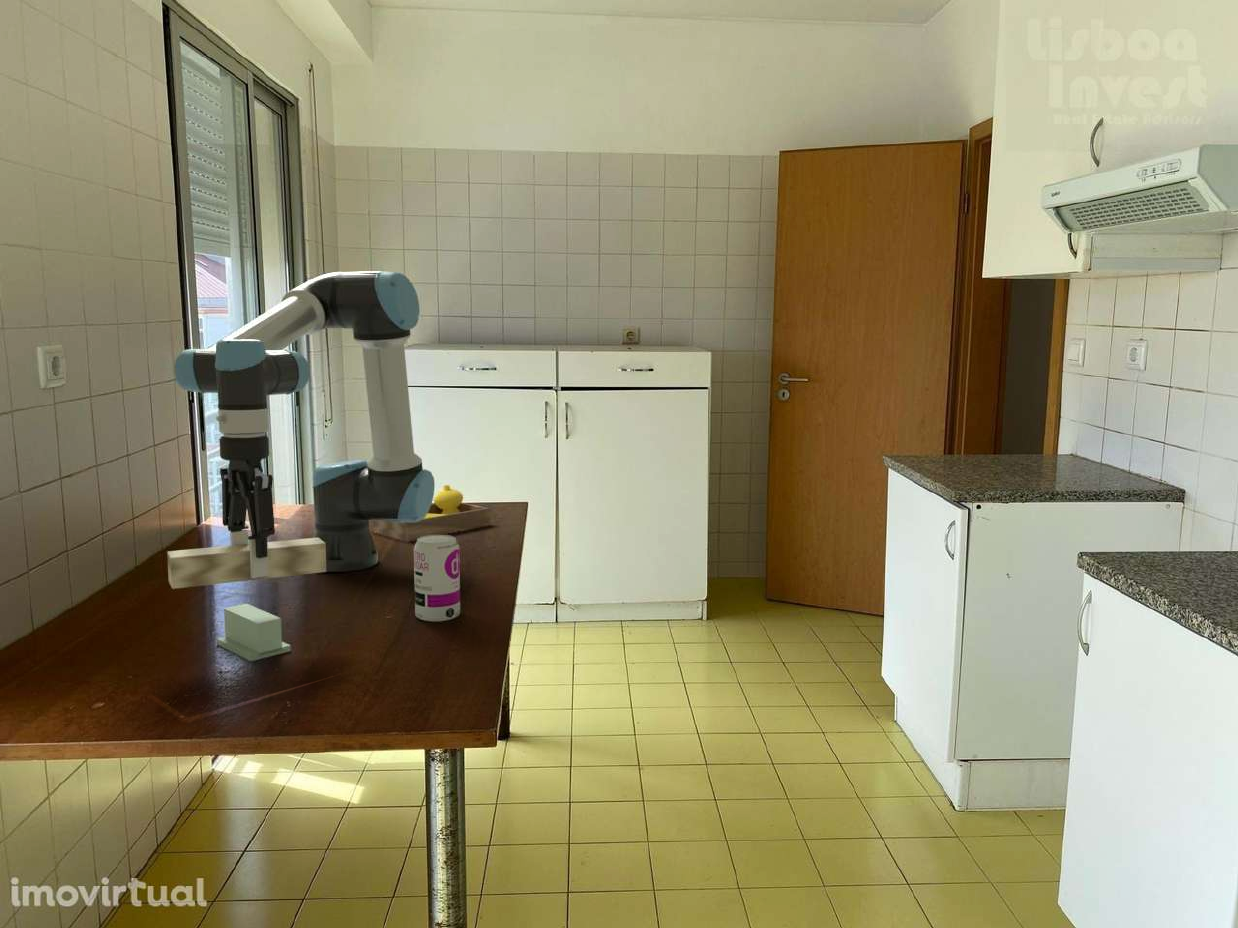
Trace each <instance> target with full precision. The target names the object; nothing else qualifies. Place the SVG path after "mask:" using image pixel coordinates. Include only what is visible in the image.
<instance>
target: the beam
mask: <svg viewBox="0 0 1238 928" xmlns="http://www.w3.org/2000/svg"><path fill="white" fill-rule="evenodd" d="M267 546H268V569H269V575H268V576H263V577H258V578H251V568H250V546H249V543H248V544H243V545H232V546H231V545H223V546H214V547H212V546H211V547H201V548H191V549H179V550H178V549H177V550H171V551H169V550H168V551H167V552H166V555H167V571H168V572H167V573H168V575H167V576H168V583H169V585H170V587H171V589H172V590H174V589H184V588H192V587H200V586H211V585H212V586H213V585H218V584H226V583H227V584H229V583H237V582H247V581H254V580H255V581H256V580H263V579H265V580H266V579H271V578H273V579H274V578H275V579H276V578H281V577H282V578H283V577H291V576H293V577H294V576H299V575H310V574H318V573H326V543H325V542H324V541H322V540H321V539H320V538H313V537H308V538H299V539H290V540H288V539H287V540H278V541H275V540H274V541H267Z"/></svg>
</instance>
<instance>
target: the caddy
mask: <svg viewBox="0 0 1238 928" xmlns="http://www.w3.org/2000/svg"><path fill="white" fill-rule="evenodd" d="M457 508H458V509H459V510H460V511H461V512H459V513H453V514H447V515H442V516H436V517H430V518H424V519H422V520H420V521H418V522H404V523H399V522H389V521H374V520H370V533H371V532H374V533H373V534H375V533H378V534H377V535H379V534H381V535H380V536H382V535H384V536H383V537H386V536H387V538H390V537H391V539H393V538H395V539H394V540H397V539H399V540H398V541H401V542H404V541H405V543H410V542H411V541H412V542H415V541H416V542H417V539H418V538H420V537H422V536H428V535H444V534H445V535H449V534H448V533H450V534H454V533H453V532H455V533H458V532H457V531H460V532H464V531H470V530H472V529H473V530H474V529H478V528H483V527H488V526H490V520H491V519H490V508H489V507H485V506H481V505H474V504H470V503H466V502H465V503H464V502H461V504H460V505H459V506H458V507H457ZM442 511H443V509H440V508H439V507H438V506H436V504H435V503H434V502H433V503H432V504H431V506H430V509H429V511H428V513H427V514H441V513H442Z"/></svg>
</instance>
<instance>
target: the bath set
mask: <svg viewBox="0 0 1238 928" xmlns="http://www.w3.org/2000/svg"><path fill="white" fill-rule="evenodd" d="M442 487H443V489H442V490H440V491H438V493H437V494H436V495H435V496H433V504H434V503H435V504H436V506H438V507H439V508H440V509H443V511H442V513H441V514H426V516H425V517H424V518H430V517H436V516H442V515H447V514H453V513H459V512H461V511H460V510H459V509H458V508H457V507H458V506H459V505H460V504H461V503H463V499H464V495H463V493H462V492H461V491H459V490H457V489H454V488H451V486H450V484H446V485H443V486H442ZM424 518H423V519H424Z"/></svg>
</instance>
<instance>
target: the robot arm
mask: <svg viewBox="0 0 1238 928" xmlns="http://www.w3.org/2000/svg"><path fill="white" fill-rule="evenodd" d="M419 315H420V302H419V298H418V293H417V291H416V289H415V287H414V284H413V283H412V281H411V280H410V279H409V278H408V276H406V275H405V274H403V273H401V272H397V271H396V272H394V271H386V270H381V271H380V270H378V271H335V272H329V273H326V274H322V275H319V276H317V277H315V278H313V279H309V280H307V281H305V282H304V283H302V284H300V285H298V286H296V287H294V288H292V289H290V290H289V291H287V292H286V293H285V294H284V296H283V297H282V298H281V302H280V303H278V304H277V305H275V306H273V307H272V308H270V309H269V310H267V311H266V312H264V313H262V314H260V315H259V316H257V317H256V318H254V319H252V320H250V321H249V322H247V323H246V324H245V325H243V326H240V328H238V329H236V330H235V331H233V332H232V333H229V334H228V335H227V336H225V337H223V338H221V339H220V340H218V341H217V342H215V343H213V344H211V345H210V346H208V347H206V348H202V349H201V348H193V349H191V348H190V349H184V350H183V351H181V352H180V353H179V354H178V355H177V357H176V358H175V360H174V365H173V373H174V376H175V381H176V383H177V385H179V387H180V388H181V389H183V390H185V391H188V392H195V393H201V394H217V402H218V403H217V412H218V415H217V416H216V421H217V422H218V431H219V433H220V434H223V435H222V436H220V438H219V439H218V440H219V457H220V459H222V460H224V461H228V462H229V463H228V467H221V468H220V470H219V474H220V479H221V503H222V508H221V510H222V511H221V512H222V513H221V514H222V526H223V527H227V530H228V531H229V532H230V533H229V534H230V536H229V537H230V538H229V539H230V546H232V545H243V544H249V546H250V568H251V578H258V577H263V576H268V575H269V569H268V546H267V542H268V538H269V537H270V536H274V535H275V533H276V528H275V527H276V526H275V518H274V517H275V515H274V514H275V513H274V503H273V481H274V479H273V478H274V477H273V475H272V474H264V468H263V465H262V460H265V459H267V458H269V456H270V439H269V436H268V435H267V434H266V433H267V432H269V411H268V402H267V401H268V396H274V395H287V396H288V395H291V394H293V393H297V392H300V391H301V390H303V389H304V388H305V387H306V386H307V385H308V382H309V381H310V376H311V375H310V373H311V370H310V365H309V362H308V361H307V358H306V357H304V355H303V354H301V353H300V352H298V351H296V350H295V351H294V350H289V349H286V348H287V347H289V346H290V345H292V344H293V343H295V342H296V341H298V340H299V339H301V338H302V337H304V335H306V336H309V335H311V336H312V335H315V334H316V333H318V332H320V331H322V330H326V329H327V330H328V329H352V333H353V340H354V341H355V342H356V343H357V344H359V345H360V346H361V349H362V356H363V365H364V366H363V367H364V376H365V384H366V385H365V386H366V395H367V406H368V415H369V425H370V434H371V443H372V444H371V445H372V452H373V453H372V454H373V456H372V458H371V459H370V460H369V461H368V462H367V459H366V460H365V459H364V460H363V459H356V460H355V459H354V460H346V461H345V460H344V461H339V462H333V463H326V464H323V465H319V466H317V467H316V468H315V469H314V471H313V478H312V479H313V480H312V481H313V482H312V490H313V508H314V509H313V510H314V511H313V512H314V534H313V535H314V536H313V537H312V538H320V539H321V540H322V541H324V542H325V543H326V572H329V573H332V572H333V573H342V572H343V573H344V572H352V571H353V572H355V571H360V570H365V569H368V568H371V567H374V566H376V565H377V564H378V563H379V557H378V556H379V553H378V550H377V546H376V545H375V542H374V539H373V537H372V533H371V530H370V521H371V520H374V521H389V522H399V523H404V522H418V521H420V520H422V519H423V518H424V517H425V516H426V514H427V513H428V511H429V509H430V506H431V504H433V502H434V497H435V496H434V495H435V486H436V485H435V477H434V474H433V473H432V472H431V471H430V470H428V469H425V468H423V460H422V457H420V456H419V455H418V454H416V453H415V450H414V448H415V447H414V437H413V428H412V427H413V426H412V416H411V405H410V394H409V385H408V383H409V382H408V373H407V372H408V371H407V363H406V352H405V350H406V349H405V344H406V342H407V341H408V340H409V339H410V337H411V335H412V334H411V329H412V330H413V329H414V328H415V327H416V326H417V324H418V322H419V318H420V317H419ZM247 515H248V522H249V525H248V524H247V523H246V522H247V521H246V519H247ZM249 528H250V532H251V535H250V536H249V530H248V529H249ZM326 572H325V573H326Z"/></svg>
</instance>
